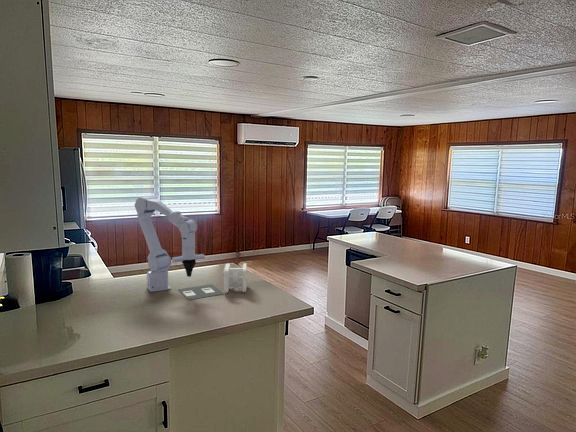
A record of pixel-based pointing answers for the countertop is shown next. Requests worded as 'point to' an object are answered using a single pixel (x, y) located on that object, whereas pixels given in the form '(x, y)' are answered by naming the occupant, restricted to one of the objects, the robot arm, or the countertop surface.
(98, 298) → the countertop surface
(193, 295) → the label mat
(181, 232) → the robot arm
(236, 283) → the cable organizer
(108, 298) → the countertop surface
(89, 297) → the countertop surface
